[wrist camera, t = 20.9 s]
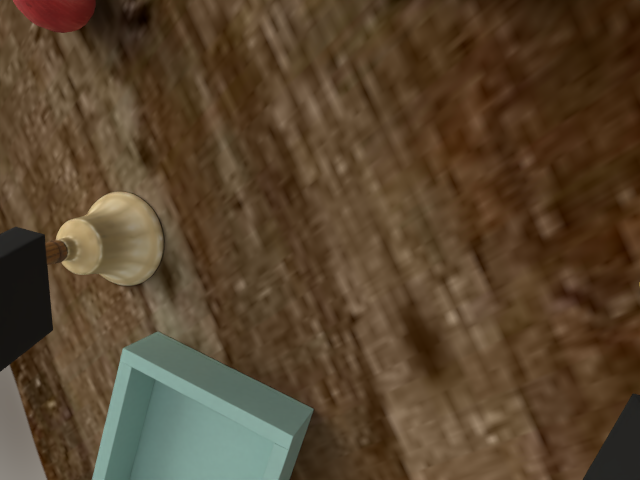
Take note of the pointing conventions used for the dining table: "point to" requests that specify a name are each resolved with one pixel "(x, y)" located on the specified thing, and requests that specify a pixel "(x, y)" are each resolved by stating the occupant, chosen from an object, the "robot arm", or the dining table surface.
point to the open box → (195, 420)
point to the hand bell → (111, 241)
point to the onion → (58, 13)
